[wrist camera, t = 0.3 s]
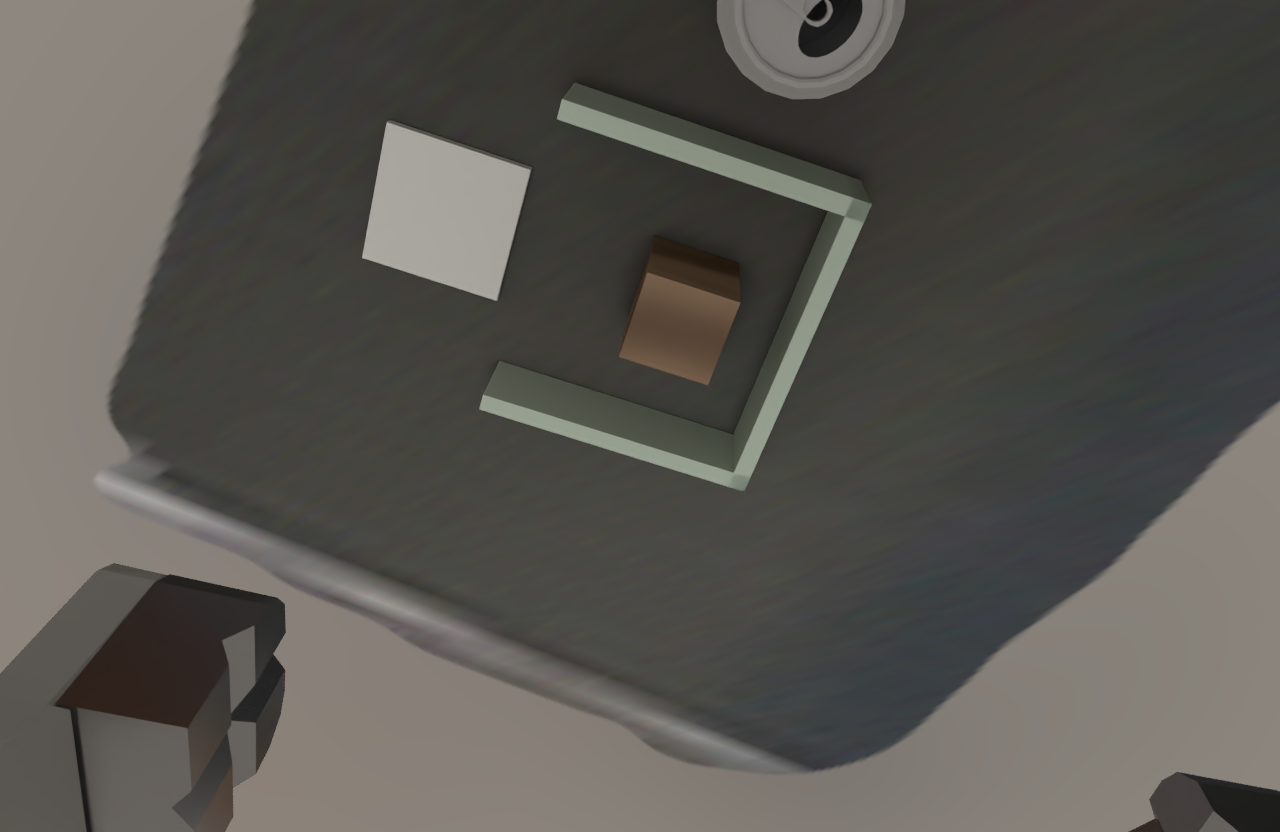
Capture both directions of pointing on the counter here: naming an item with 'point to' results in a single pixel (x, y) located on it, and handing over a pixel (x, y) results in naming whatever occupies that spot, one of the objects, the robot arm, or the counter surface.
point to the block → (682, 310)
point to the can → (808, 42)
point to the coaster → (445, 210)
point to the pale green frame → (739, 452)
